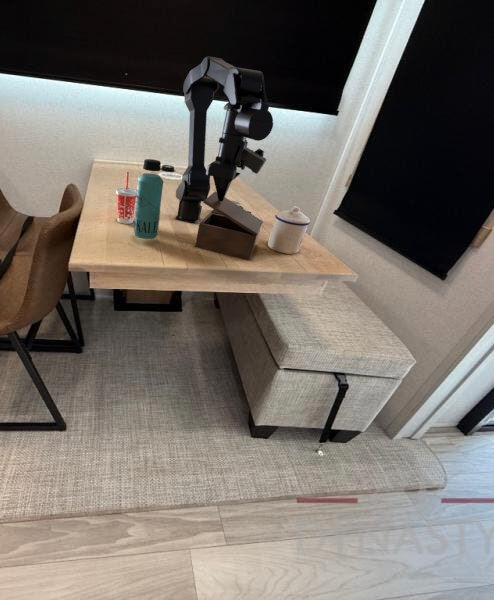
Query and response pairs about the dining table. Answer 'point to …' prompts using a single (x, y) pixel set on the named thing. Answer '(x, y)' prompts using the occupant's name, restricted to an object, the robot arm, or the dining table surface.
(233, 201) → the push lid
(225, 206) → the lid
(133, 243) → the dining table surface
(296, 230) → the teacup with lid
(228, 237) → the box
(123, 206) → the beverage cup
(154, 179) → the beverage bottle
